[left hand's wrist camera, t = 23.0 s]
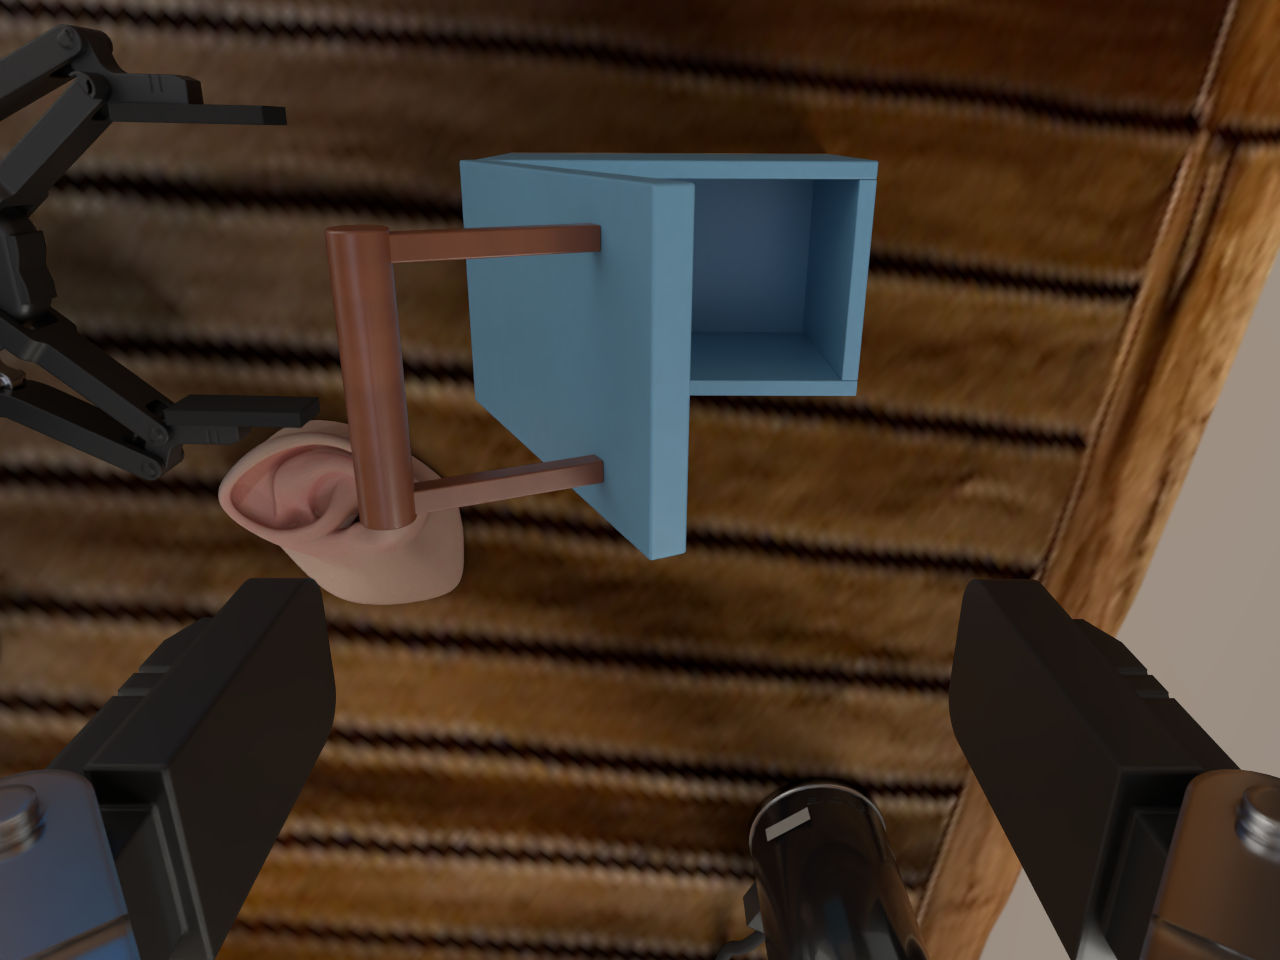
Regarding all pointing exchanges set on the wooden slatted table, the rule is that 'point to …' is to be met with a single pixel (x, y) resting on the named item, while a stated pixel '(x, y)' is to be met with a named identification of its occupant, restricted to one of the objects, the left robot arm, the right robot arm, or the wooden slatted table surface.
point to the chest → (766, 263)
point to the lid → (538, 345)
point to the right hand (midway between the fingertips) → (294, 272)
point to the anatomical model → (340, 520)
